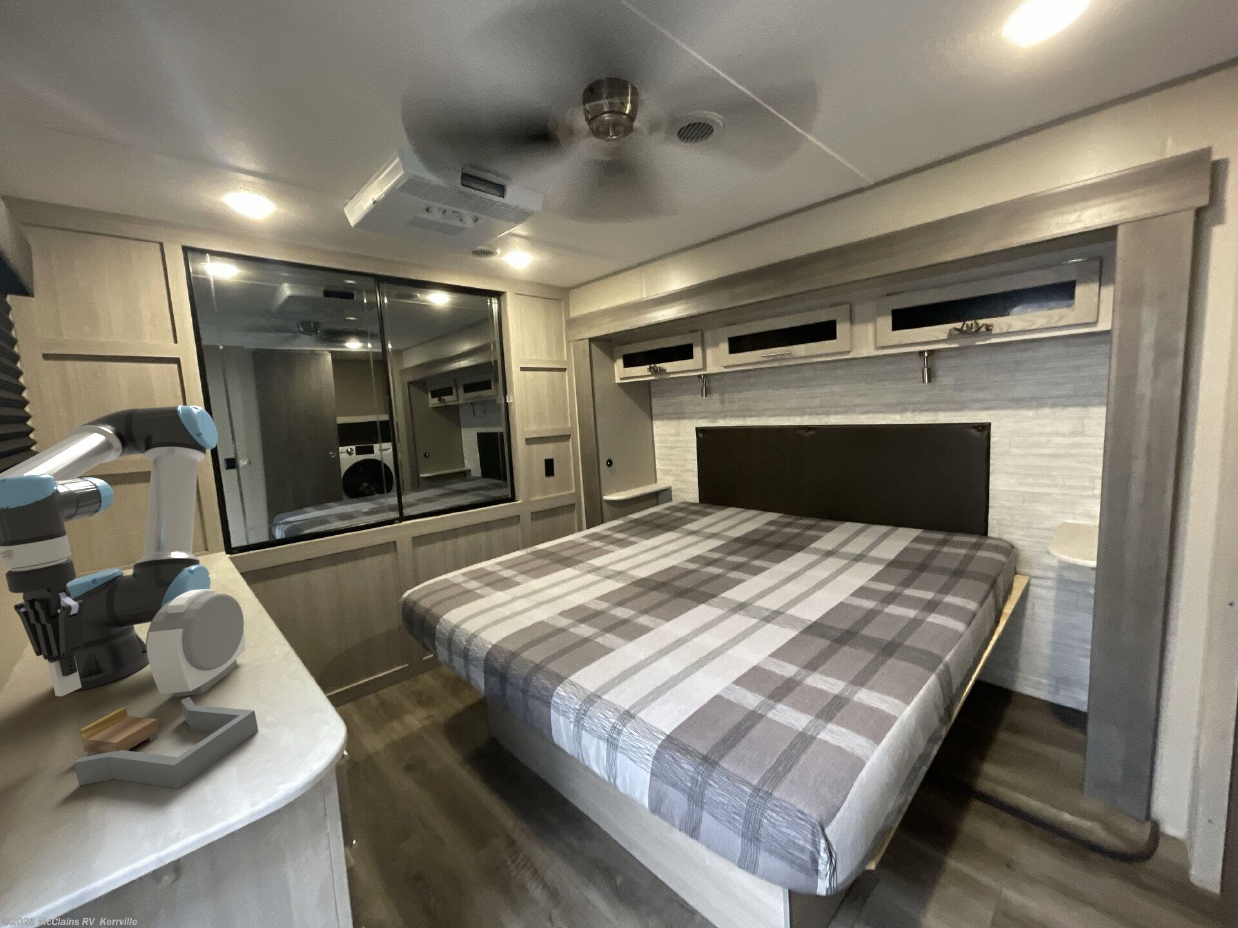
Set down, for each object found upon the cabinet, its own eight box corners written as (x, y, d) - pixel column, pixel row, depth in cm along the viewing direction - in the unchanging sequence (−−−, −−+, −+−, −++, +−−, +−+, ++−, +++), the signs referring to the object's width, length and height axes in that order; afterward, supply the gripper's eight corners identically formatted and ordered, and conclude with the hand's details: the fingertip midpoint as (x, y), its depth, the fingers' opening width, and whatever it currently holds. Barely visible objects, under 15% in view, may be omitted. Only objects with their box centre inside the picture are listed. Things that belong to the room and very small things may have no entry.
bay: (77, 785, 76) (71, 762, 76) (191, 715, 92) (186, 696, 92) (165, 798, 72) (160, 774, 72) (268, 723, 88) (264, 703, 88)
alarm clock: (218, 660, 113) (202, 579, 111) (256, 656, 114) (241, 575, 111) (151, 709, 96) (130, 613, 93) (196, 704, 96) (177, 608, 94)
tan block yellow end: (85, 756, 83) (79, 729, 83) (127, 732, 89) (121, 707, 88) (120, 760, 81) (113, 733, 81) (160, 736, 87) (154, 710, 87)
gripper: (-19, 571, 81) (13, 701, 83) (35, 572, 78) (67, 707, 81) (42, 557, 88) (70, 677, 91) (94, 557, 85) (121, 681, 88)
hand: (68, 691), depth 86 cm, fingers closed
